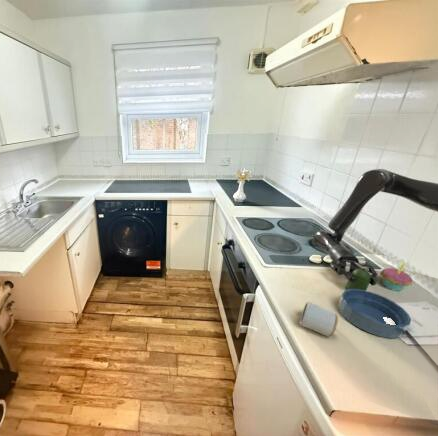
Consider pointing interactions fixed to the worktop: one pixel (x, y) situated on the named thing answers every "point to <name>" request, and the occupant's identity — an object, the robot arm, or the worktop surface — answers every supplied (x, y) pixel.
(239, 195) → the flower vase
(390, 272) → the cupcake
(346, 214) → the robot arm
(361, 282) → the green rounded cylinder
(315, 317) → the ceramic mug
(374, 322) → the bowl
